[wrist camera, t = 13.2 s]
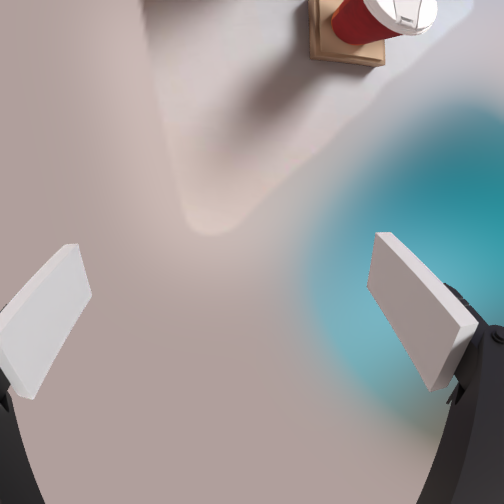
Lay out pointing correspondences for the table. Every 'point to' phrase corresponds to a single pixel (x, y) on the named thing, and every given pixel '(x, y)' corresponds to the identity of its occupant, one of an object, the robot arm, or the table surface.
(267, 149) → the table surface
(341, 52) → the plinth
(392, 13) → the coffee cup
